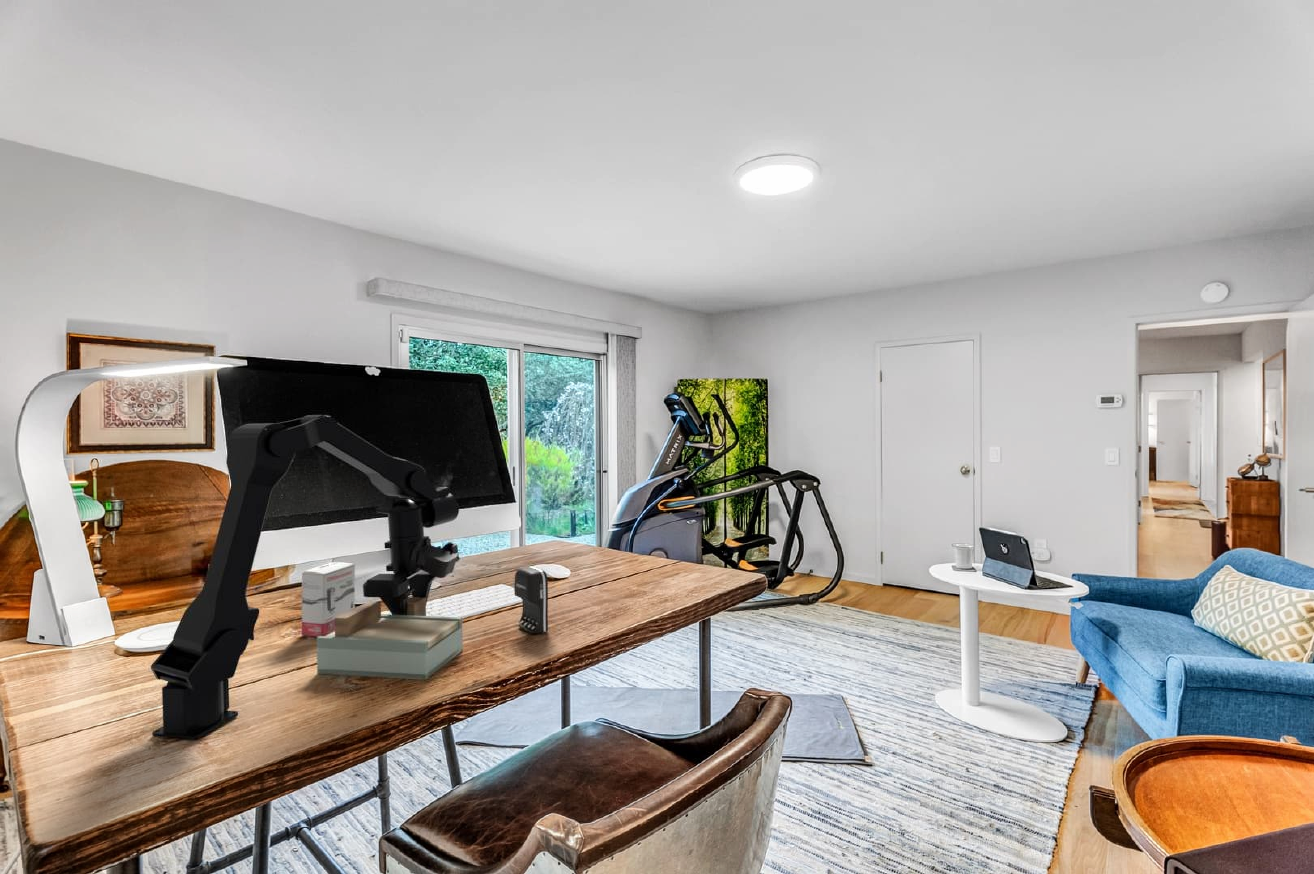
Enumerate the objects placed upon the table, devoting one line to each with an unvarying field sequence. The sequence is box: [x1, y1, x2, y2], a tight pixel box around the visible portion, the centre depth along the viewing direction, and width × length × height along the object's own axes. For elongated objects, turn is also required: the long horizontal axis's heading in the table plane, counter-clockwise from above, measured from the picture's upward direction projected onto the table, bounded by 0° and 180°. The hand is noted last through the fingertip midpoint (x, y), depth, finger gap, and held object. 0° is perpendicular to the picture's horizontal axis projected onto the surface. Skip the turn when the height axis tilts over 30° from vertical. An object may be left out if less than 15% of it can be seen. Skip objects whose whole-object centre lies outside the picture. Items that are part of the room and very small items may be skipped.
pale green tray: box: [316, 613, 464, 681], centre depth 99 cm, size 12×18×6 cm, turn 82°
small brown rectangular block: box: [407, 596, 427, 616], centre depth 109 cm, size 4×4×7 cm
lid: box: [326, 600, 458, 648], centre depth 99 cm, size 10×18×4 cm, turn 82°
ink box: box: [301, 561, 356, 638], centre depth 115 cm, size 9×5×12 cm, turn 168°
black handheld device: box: [513, 566, 549, 635], centre depth 113 cm, size 7×4×11 cm, turn 41°
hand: (412, 618), depth 110 cm, fingers open, 6 cm apart
